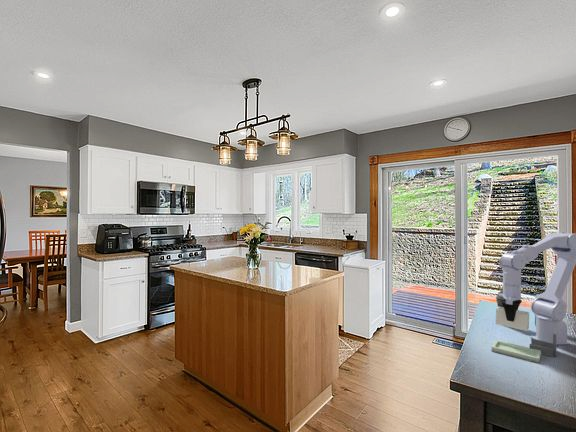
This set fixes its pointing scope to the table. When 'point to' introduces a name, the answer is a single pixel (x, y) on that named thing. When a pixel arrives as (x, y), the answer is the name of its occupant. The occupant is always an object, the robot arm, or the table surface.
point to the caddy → (519, 321)
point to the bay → (545, 345)
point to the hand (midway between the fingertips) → (511, 319)
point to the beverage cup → (499, 299)
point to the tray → (517, 351)
